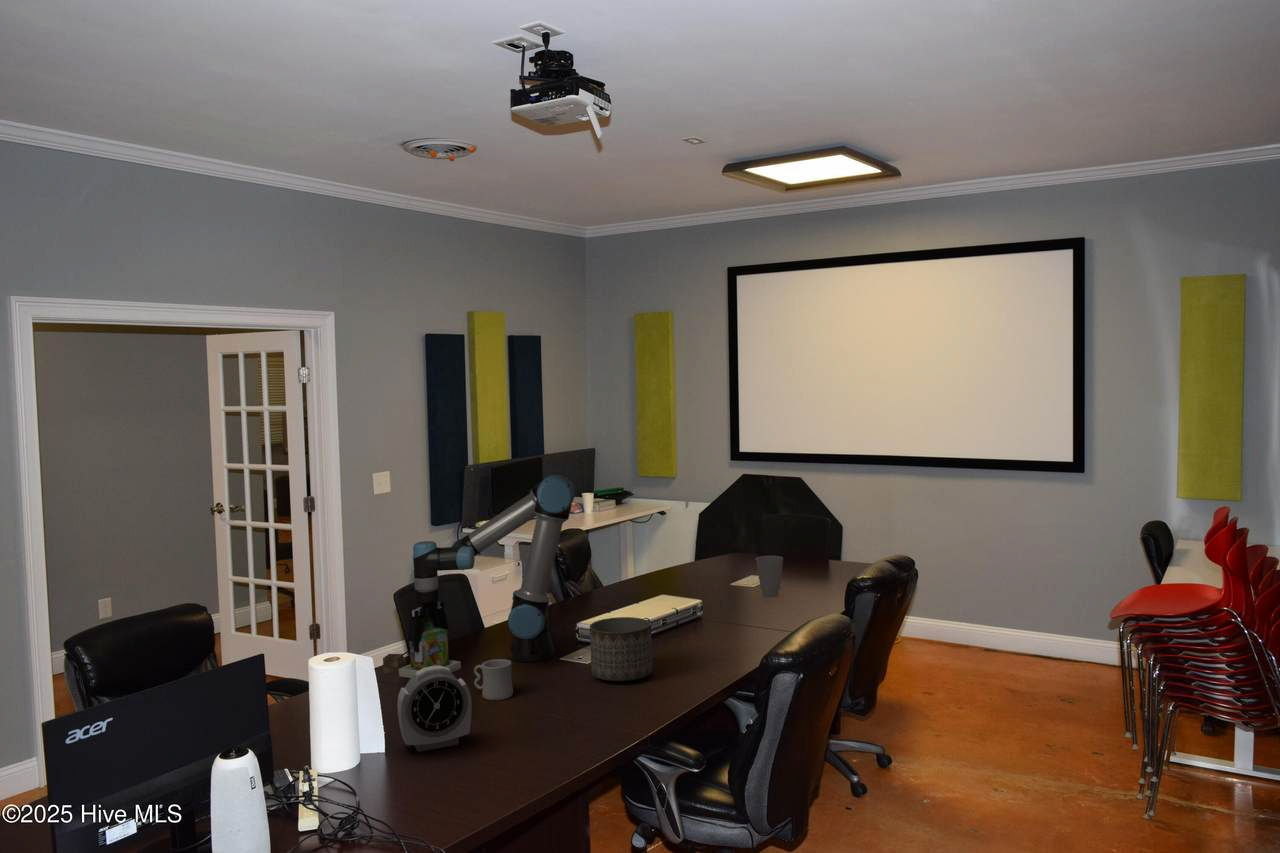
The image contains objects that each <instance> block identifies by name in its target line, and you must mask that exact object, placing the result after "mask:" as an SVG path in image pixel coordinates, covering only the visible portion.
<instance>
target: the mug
mask: <svg viewBox="0 0 1280 853" xmlns="http://www.w3.org/2000/svg"><path fill="white" fill-rule="evenodd" d="M512 664H513V663H512V660H509V659H505V658H503V659H501V658H498V659H497V658H496V659H495V658H494V659H490V660H486V661H484V662H482V663H481V664H477V665H476V666H475V667H474V668H473V674H474V675H475V676H476V678H474V681H473V685H474V686H475V687H476V689H478V690H482V692H481V694H482V698H484V699H485V700H488V701H502V700H507V699H509V698H511V697H512V696H513V693H514V689H513V687H514V686H513V683H512V682H513V681H512ZM478 669H481V671H482V677H481V674H480V673H479V672H478ZM481 678H482V684H481V685H480V684H479V683H478V682H479V681H480V679H481Z"/></svg>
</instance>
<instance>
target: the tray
mask: <svg viewBox="0 0 1280 853" xmlns="http://www.w3.org/2000/svg"><path fill="white" fill-rule="evenodd" d="M461 664H462V662H461V661H458V660H453V659H451V660H450V659H449V664H446V665H442V666H444V667H448V668H449V670H450V671H451V673H452V674H453V673H455V672H457V671H459V670H461V668H462V665H461ZM421 669H422V668H416V667H411V663H410V664H407V665H404V667H402V668H399V673H398V676H399V677H403V678H409V679H411V678H412V677H413V676H414V675H415V674H416V672H417V671H419V670H421Z"/></svg>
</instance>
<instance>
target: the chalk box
mask: <svg viewBox="0 0 1280 853" xmlns="http://www.w3.org/2000/svg"><path fill="white" fill-rule="evenodd" d="M426 624H429V626H424V629H423V633H422V636H421V640H420V641H421V642H422V650H423V662H416V661H415V652H414V647H413V642H411V641H409V657H410V664H411V667H416V668H422V669H423V668H425V667H430V666H439V665H440V666H442V665H446V664H449V660H450V658H449V639H448V638H449V636H448V633H449V632H448V630H447V629H441V628H438V627H435V626H434V624H433V622H432V620H431V618H428V619H427V622H425V625H426ZM412 638H413V637H412Z"/></svg>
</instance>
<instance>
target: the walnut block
mask: <svg viewBox="0 0 1280 853" xmlns="http://www.w3.org/2000/svg"><path fill="white" fill-rule="evenodd" d="M404 658H405V657H404V653H388V654H386V655H385V656H384V657H382V666H384V667H383V668H382V669H383V674H399V668H402V667H404V666H405V663H404V662H405V659H404Z"/></svg>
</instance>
